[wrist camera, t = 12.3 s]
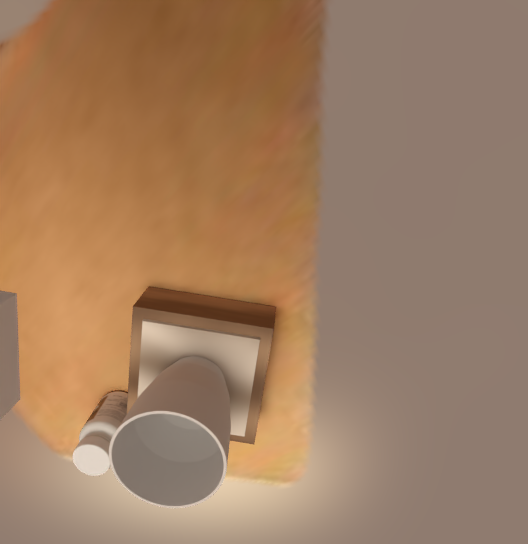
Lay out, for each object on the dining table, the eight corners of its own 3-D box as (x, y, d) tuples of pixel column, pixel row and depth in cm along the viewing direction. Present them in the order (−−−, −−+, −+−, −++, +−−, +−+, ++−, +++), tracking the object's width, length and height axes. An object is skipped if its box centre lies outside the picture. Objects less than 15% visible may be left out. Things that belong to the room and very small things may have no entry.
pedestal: (148, 286, 45) (131, 308, 40) (275, 306, 45) (273, 331, 40) (141, 394, 49) (124, 426, 44) (257, 413, 49) (253, 447, 44)
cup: (170, 428, 44) (136, 517, 35) (136, 352, 41) (88, 427, 32) (254, 408, 43) (242, 495, 33) (223, 329, 40) (201, 398, 31)
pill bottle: (98, 388, 49) (63, 438, 42) (140, 390, 49) (113, 441, 41) (102, 424, 50) (69, 479, 43) (143, 427, 50) (117, 482, 43)
